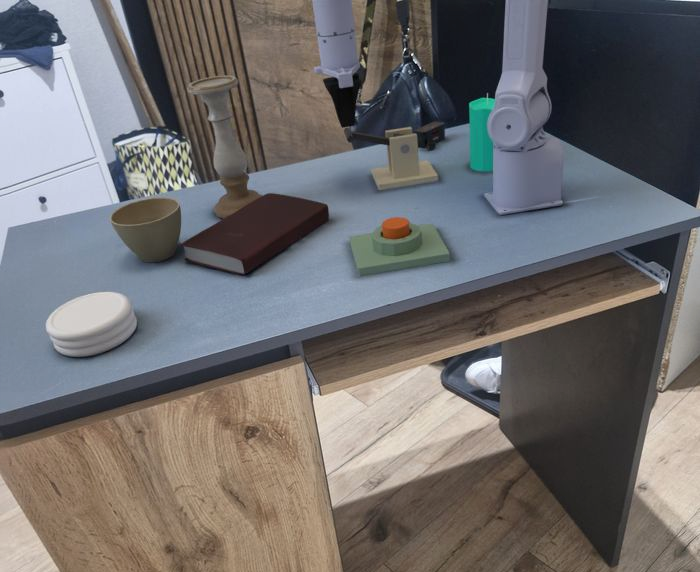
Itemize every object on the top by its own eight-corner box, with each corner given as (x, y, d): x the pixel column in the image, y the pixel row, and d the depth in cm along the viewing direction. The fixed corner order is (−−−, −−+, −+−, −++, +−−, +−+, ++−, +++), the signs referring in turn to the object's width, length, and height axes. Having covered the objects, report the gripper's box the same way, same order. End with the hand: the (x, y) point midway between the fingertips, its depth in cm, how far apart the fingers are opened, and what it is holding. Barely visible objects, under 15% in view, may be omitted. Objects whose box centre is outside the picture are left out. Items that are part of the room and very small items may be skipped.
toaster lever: (345, 146, 103) (348, 131, 101) (342, 137, 107) (345, 122, 105) (410, 156, 105) (414, 142, 104) (405, 147, 109) (408, 133, 108)
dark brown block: (411, 149, 122) (410, 132, 120) (435, 138, 125) (434, 121, 124) (430, 152, 119) (429, 135, 117) (454, 141, 122) (453, 124, 121)
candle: (465, 163, 112) (464, 91, 105) (499, 158, 112) (500, 86, 105) (474, 174, 107) (474, 100, 100) (510, 169, 107) (511, 94, 100)
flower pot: (133, 278, 91) (116, 231, 86) (120, 253, 98) (104, 209, 94) (200, 256, 94) (187, 210, 90) (182, 234, 101) (169, 191, 97)
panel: (433, 230, 91) (432, 210, 90) (450, 261, 83) (449, 240, 81) (350, 244, 91) (347, 224, 89) (359, 276, 83) (356, 255, 81)
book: (331, 221, 98) (328, 201, 96) (246, 278, 86) (241, 256, 84) (270, 210, 105) (266, 191, 103) (183, 262, 93) (177, 241, 91)
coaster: (58, 369, 73) (46, 344, 71) (52, 330, 81) (41, 306, 79) (144, 340, 76) (135, 315, 74) (131, 305, 84) (122, 281, 82)
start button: (407, 227, 87) (406, 215, 86) (412, 238, 84) (411, 225, 83) (381, 231, 87) (379, 219, 86) (385, 242, 84) (384, 230, 83)
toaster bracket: (379, 191, 106) (374, 144, 102) (372, 175, 113) (367, 130, 108) (438, 182, 106) (436, 134, 102) (427, 166, 113) (425, 121, 108)
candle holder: (234, 197, 112) (205, 74, 100) (276, 200, 108) (252, 73, 97) (205, 218, 106) (170, 89, 94) (249, 221, 102) (219, 88, 91)
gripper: (306, 29, 101) (319, 117, 109) (312, 44, 89) (326, 141, 97) (350, 22, 102) (360, 110, 109) (362, 36, 90) (372, 134, 97)
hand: (347, 124), depth 103 cm, fingers closed
